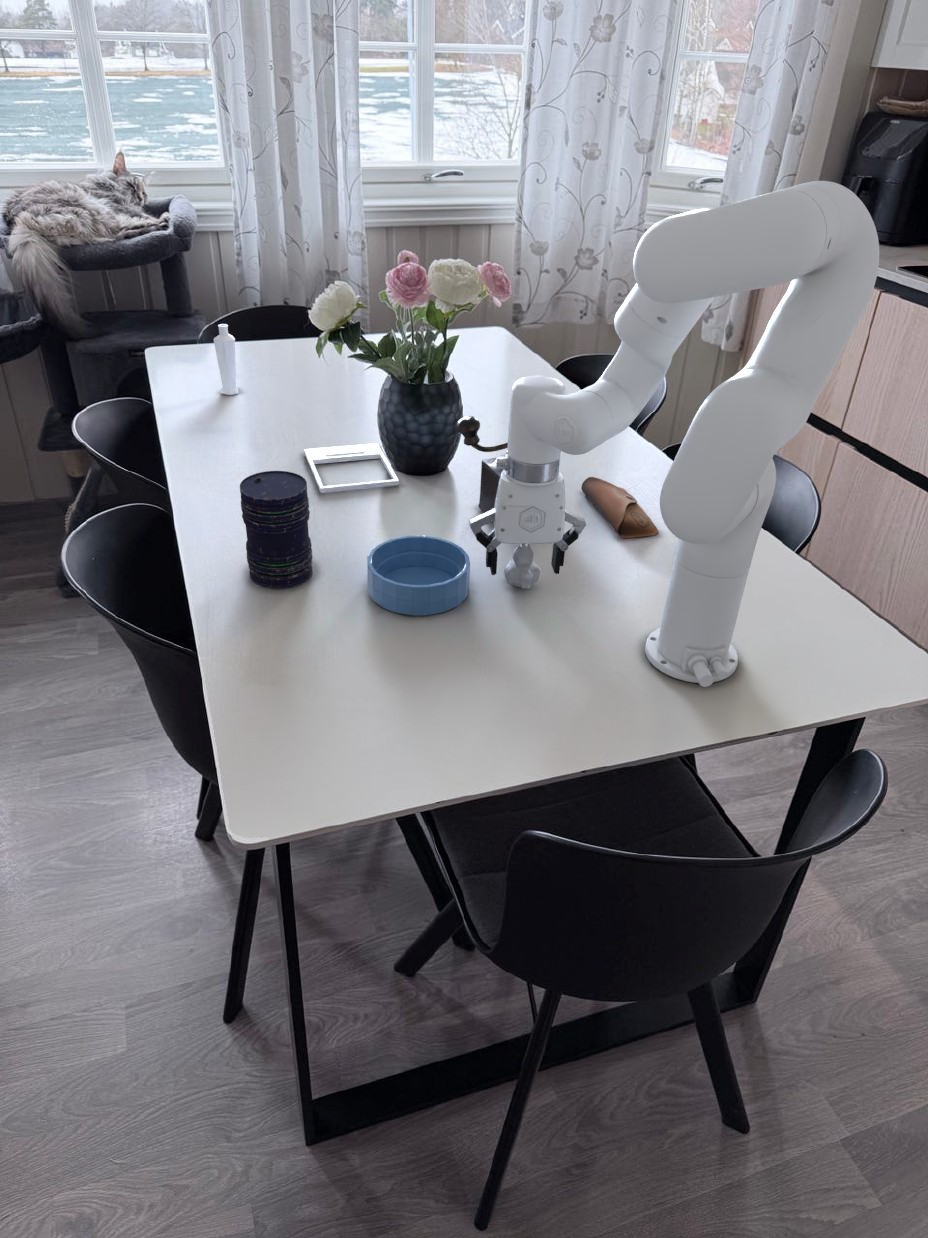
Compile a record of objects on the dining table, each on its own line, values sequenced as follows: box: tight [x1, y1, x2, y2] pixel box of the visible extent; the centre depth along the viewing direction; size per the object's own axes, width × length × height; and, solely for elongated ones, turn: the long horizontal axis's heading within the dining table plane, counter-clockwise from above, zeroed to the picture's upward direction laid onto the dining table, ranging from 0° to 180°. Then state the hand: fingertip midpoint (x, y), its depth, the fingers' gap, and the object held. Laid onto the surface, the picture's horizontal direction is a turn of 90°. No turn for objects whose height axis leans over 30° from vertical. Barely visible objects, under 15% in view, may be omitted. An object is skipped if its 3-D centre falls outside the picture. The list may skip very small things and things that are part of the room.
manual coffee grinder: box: [456, 415, 508, 524], centre depth 151 cm, size 16×11×18 cm
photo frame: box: [303, 442, 400, 494], centre depth 170 cm, size 15×1×18 cm
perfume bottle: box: [213, 323, 240, 396], centre depth 198 cm, size 5×4×15 cm
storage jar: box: [239, 470, 313, 590], centre depth 134 cm, size 10×10×15 cm
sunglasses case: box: [580, 476, 659, 540], centre depth 158 cm, size 18×7×7 cm
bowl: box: [366, 535, 471, 616], centre depth 134 cm, size 15×15×5 cm
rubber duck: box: [503, 544, 541, 589], centre depth 135 cm, size 5×7×8 cm
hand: (524, 569), depth 136 cm, fingers open, 9 cm apart
